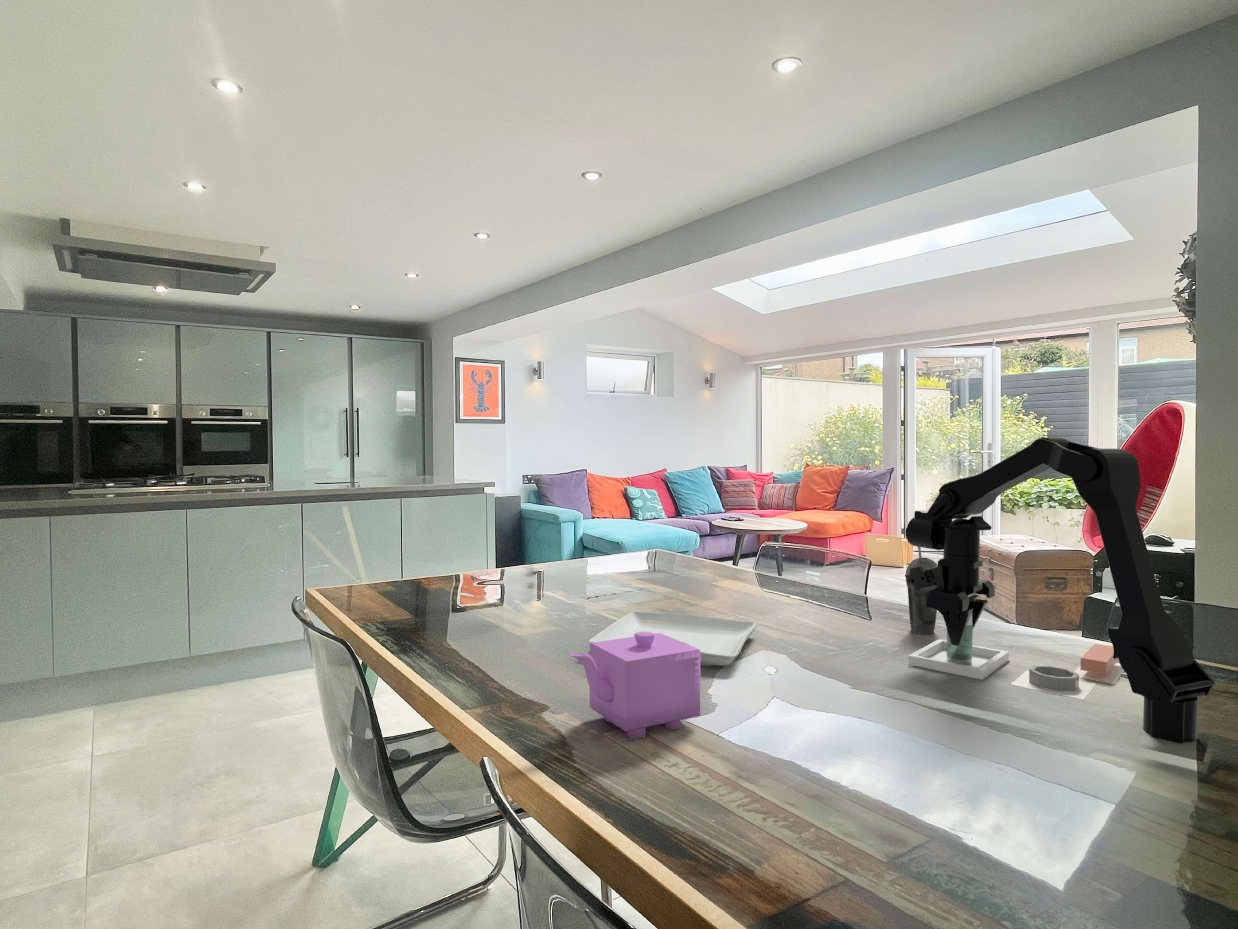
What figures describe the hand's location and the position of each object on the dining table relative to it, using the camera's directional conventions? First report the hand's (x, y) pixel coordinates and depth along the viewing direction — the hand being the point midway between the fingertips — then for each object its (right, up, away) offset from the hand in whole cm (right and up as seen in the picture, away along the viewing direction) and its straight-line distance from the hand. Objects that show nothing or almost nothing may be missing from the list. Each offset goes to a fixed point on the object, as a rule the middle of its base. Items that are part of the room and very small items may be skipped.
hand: (959, 642), depth 127 cm
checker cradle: (+16, -5, -6) cm, 18 cm away
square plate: (-49, -4, +12) cm, 50 cm away
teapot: (-58, -5, -27) cm, 64 cm away
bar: (+22, -3, -4) cm, 23 cm away
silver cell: (0, -4, 0) cm, 4 cm away
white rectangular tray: (0, -5, 0) cm, 4 cm away
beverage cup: (+4, -4, +25) cm, 26 cm away
